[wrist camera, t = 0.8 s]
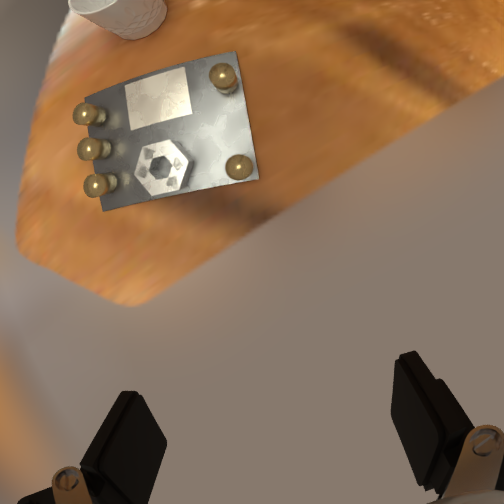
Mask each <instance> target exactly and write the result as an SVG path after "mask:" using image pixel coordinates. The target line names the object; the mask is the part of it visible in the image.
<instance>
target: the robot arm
mask: <svg viewBox="0 0 504 504" xmlns="http://www.w3.org/2000/svg"><path fill="white" fill-rule="evenodd" d="M391 417H392V420H393V423H394V425H395V427H396V430H397V432H398V435H399V437H400V440H401V442H402V445H403V447H404V450H405V452H406V455H407V457H408V460H409V463H410V465H411V468H412V470H413V473H414V476H415V478H416V481H417V484H418V485H419V486H422V485H423V486H424V489H425V491H428V490H431V489H433V488H434V489H435V492H436V494H439V495H438V497H437V499H436V501H433V502H431V503H427V504H504V433H503V432H502V430H501V429H499V428H498V427H496V426H493V425H482V426H478V427H476V428H475V427H474V426H473V424H472V423H471V421H470V419H469V418H468V416H467V415H466V413H465V412H464V410H463V409H462V407H461V406H460V404H459V403H458V401H457V400H456V398H455V397H454V395H453V394H452V392H451V391H450V389H449V388H448V386H447V385H446V384H445V382H444V381H443V380H442V379H435V377H434V376H433V375H432V373H431V372H430V370H429V369H428V367H427V366H426V364H425V363H424V362H423V360H422V359H421V357H420V356H419V354H418V353H417V352H416V351H411V352H407V353H404V354H401V355H400V356H399V359H397V360H396V361H395V368H394V382H393V394H392V403H391ZM166 447H167V440H166V438H165V436H164V434H163V433H162V431H161V429H160V427H159V426H158V424H157V422H156V420H155V419H154V417H153V415H152V413H151V411H150V409H149V408H148V406H147V404H146V402H145V400H144V398H143V397H142V395H139V394H138V392H136V391H122V392H121V393H120V395H119V396H118V398H117V400H116V401H115V403H114V405H113V406H112V408H111V410H110V411H109V413H108V415H107V417H106V419H105V420H104V422H103V424H102V425H101V427H100V429H99V430H98V432H97V434H96V436H95V437H94V439H93V441H92V443H91V444H90V446H89V448H88V450H87V451H86V453H85V455H84V457H83V459H82V461H81V462H80V465H81V468H80V470H79V469H78V468H76V467H73V466H68V467H64V468H62V469H60V470H58V471H57V472H56V473H55V475H54V476H53V479H52V487H49V488H47V489H44V490H42V491H39V492H36V493H34V494H31V495H28V496H26V497H24V498H22V499H20V501H18V503H17V504H148V501H149V498H150V495H151V492H152V489H153V486H154V483H155V480H156V477H157V474H158V471H159V468H160V465H161V462H162V459H163V456H164V453H165V450H166Z"/></svg>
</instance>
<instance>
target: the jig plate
mask: <svg viewBox="0 0 504 504" xmlns="http://www.w3.org/2000/svg"><path fill="white" fill-rule="evenodd" d="M73 120H74V122H75V123H76V124H78V125H86V126H88V133H89V138H84V139H82V140H81V141H80V143H79V144H78V147H77V153H78V156H79V158H80V159H82V160H84V161H87V160H93V165H94V171H95V174H93V175H89V176H88V177H87V178H86V179H85V181H84V191H85V193H86V195H87V196H89V197H91V198H95V197H99V196H100V201H101V205H102V210H103V211H107V210H111V209H115V208H119V207H123V206H127V205H132V204H136V203H140V202H144V201H149V200H153V199H158V198H162V197H167V196H171V195H176V194H181V193H186V192H190V191H195V190H200V189H206V188H211V187H216V186H221V185H227V184H232V183H238V182H244V181H250V180H256V179H259V175H258V169H257V163H256V158H255V152H254V146H253V141H252V135H251V129H250V124H249V118H248V113H247V108H246V102H245V97H244V91H243V86H242V81H241V76H240V70H239V65H238V60H237V55H236V51H234V52H228V53H223V54H218V55H214V56H209V57H205V58H201V59H197V60H193V61H189V62H185V63H181V64H177V65H174V66H170V67H167V68H164V69H160V70H157V71H154V72H151V73H148V74H145V75H142V76H139V77H136V78H133V79H130V80H127V81H125V82H122V83H119V84H117V85H114V86H111V87H109V88H106V89H104V90H101V91H99V92H97V93H94V94H92V95H90V96H87V97H85V103H80V104H78V105H77V106H76V108H75V109H74V111H73ZM169 139H170V140H175V141H177V142H178V143H179V144H180V145H181V146H182V147H183V148H184V150H185V151H186V152H187V153H188V154H189V155H190V157H191V158H192V159H193V160H194V164H193V167H192V170H191V173H190V176H189V179H188V182H187V185H186V188H183V189H180V190H176V191H171V192H167V193H162V194H158V195H153V196H151V194H150V193H149V192H148V191H147V190H146V188H145V187H144V186H143V185H142V184H141V182H140V181H139V180H138V179H137V178H136V176H135V175H134V173H135V170H136V166H137V163H138V160H139V156H140V153H141V150H142V147H144V146H147V145H151V144H154V143H158V142H162V141H166V140H169ZM171 168H172V164H171V163H170V162H169V160H168V159H167V158H166V157H165V158H161V159H160V163H159V166H158V169H157V170H158V171H159V173H160V174H161V175H162V176H163V177H164V178H168V177H169V174H170V171H171Z"/></svg>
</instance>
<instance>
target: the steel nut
mask: <svg viewBox="0 0 504 504" xmlns="http://www.w3.org/2000/svg"><path fill="white" fill-rule="evenodd" d="M165 157H166V158H167V159H168V160H169V162H170V163H171V164H172V168H171V171H170V174H169V177H168V178H164V177H163V176H162V175H161V174H160V173H159V171H158V170H157V169H158V166H159V163H160V159H161V158H165ZM193 164H194V160H193V159H192V158H191V157H190V155H189V154H188V153H187V152H186V151H185V150H184V148H183V147H182V146H181V145H180V144H179V143H178V142H177V141H175V140H170V139H169V140H166V141H162V142H158V143H154V144H151V145H147V146H144V147H142V150H141V153H140V156H139V160H138V163H137V166H136V170H135V173H134V175H135V176H136V178H137V179H138V180H139V181H140V182H141V184H142V185H143V186H144V187H145V188H146V190H147V191H148V192H149V193H150V194H151V196H153V195H158V194H162V193H167V192H171V191H176V190H180V189H183V188H186V185H187V182H188V179H189V176H190V173H191V170H192V167H193Z"/></svg>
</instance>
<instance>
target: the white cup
mask: <svg viewBox="0 0 504 504" xmlns="http://www.w3.org/2000/svg"><path fill="white" fill-rule="evenodd" d="M68 4H69V7H70V9H71V10H72V11H73V12H75V13H77V14H79V15H80V16H82V17H84V18H86V19H88V20H90V21H91V22H93V23H95V24H97V25H98V26H100V27H102V28H104V29H106V30H108V31H110V32H113V33H115V34H117V35H118V36H120V37H121V38H123V39H129V40H137V39H140V38H143V37H146V36H148V35H149V34H151V33H152V32H154V31H155V30H157V29H158V27H159V26H160V25H161V23H162V22H163V21H164V20H165V16H166V12H167V6H166V4H165V1H164V0H68Z"/></svg>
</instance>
